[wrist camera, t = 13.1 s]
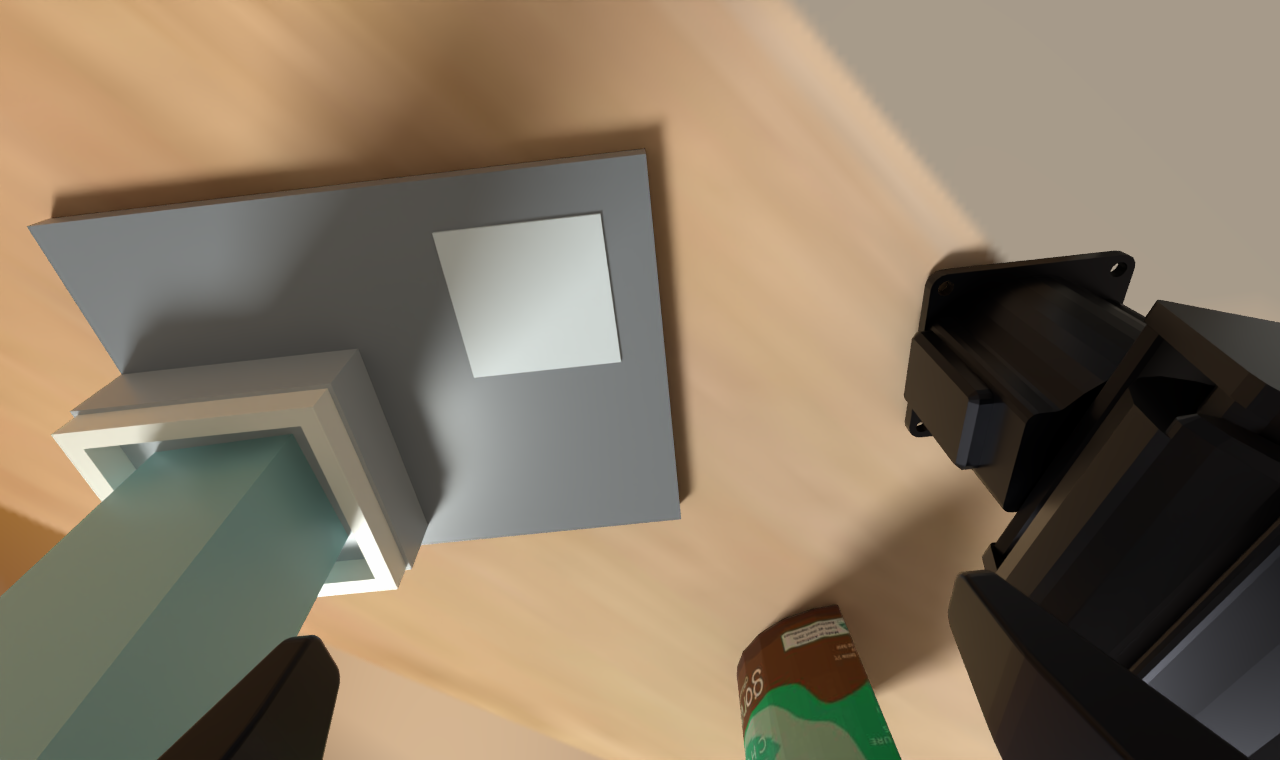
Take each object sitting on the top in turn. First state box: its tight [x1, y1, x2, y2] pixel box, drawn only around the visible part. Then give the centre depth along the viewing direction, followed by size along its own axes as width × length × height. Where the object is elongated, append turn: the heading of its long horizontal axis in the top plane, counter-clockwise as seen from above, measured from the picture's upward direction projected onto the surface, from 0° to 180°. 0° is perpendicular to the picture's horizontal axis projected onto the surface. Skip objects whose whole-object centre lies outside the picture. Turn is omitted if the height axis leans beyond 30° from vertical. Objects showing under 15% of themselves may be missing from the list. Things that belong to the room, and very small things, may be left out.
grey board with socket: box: [27, 149, 681, 597], centre depth 20 cm, size 18×14×4 cm
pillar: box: [0, 434, 349, 760], centre depth 14 cm, size 4×4×14 cm
